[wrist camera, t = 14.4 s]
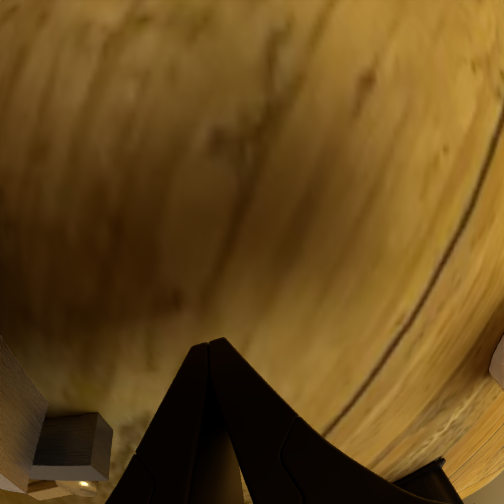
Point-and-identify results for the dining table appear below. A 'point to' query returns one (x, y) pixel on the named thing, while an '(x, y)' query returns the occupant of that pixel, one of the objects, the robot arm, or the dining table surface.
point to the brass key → (62, 489)
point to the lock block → (18, 421)
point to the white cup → (498, 365)
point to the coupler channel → (73, 449)
